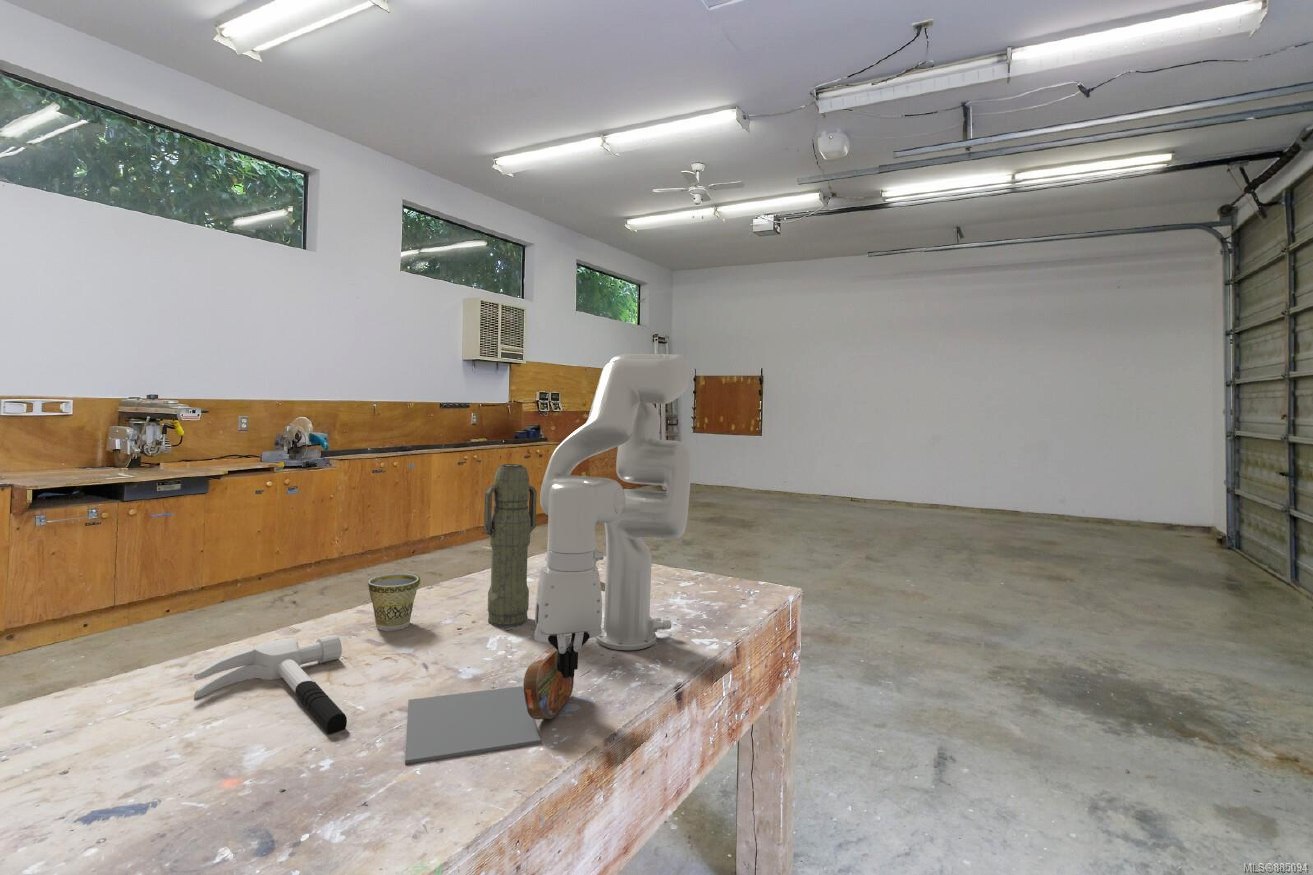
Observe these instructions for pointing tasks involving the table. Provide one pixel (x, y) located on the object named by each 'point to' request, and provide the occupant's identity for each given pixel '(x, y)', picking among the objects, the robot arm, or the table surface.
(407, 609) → the ceramic cup
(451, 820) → the table surface
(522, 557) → the thermos
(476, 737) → the mat
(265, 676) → the claw hammer
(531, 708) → the tin
